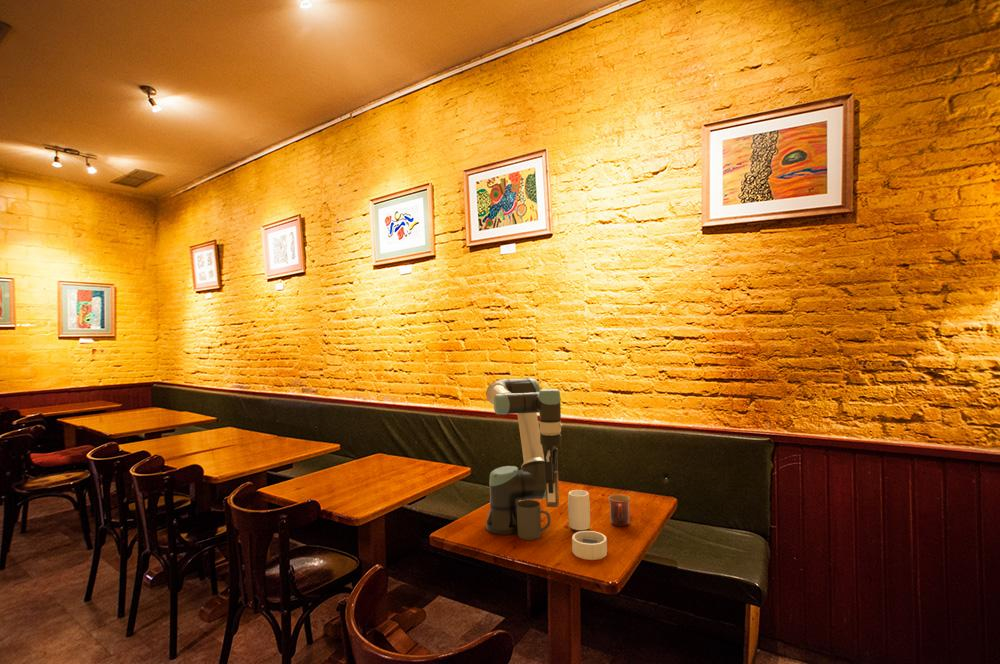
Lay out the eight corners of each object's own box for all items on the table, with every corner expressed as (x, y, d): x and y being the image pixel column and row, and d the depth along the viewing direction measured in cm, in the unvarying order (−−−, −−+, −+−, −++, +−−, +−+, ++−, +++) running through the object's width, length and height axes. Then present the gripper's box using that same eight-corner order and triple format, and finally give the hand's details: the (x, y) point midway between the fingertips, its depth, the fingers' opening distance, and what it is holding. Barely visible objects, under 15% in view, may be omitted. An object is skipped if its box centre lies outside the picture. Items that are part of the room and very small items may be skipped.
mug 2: (608, 518, 192) (607, 493, 193) (630, 519, 191) (629, 494, 191) (609, 530, 181) (608, 503, 181) (632, 531, 179) (631, 504, 179)
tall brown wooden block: (546, 506, 163) (545, 472, 163) (547, 504, 165) (546, 470, 166) (557, 507, 162) (556, 472, 162) (559, 505, 164) (558, 471, 165)
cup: (591, 526, 185) (590, 490, 186) (589, 534, 177) (588, 497, 178) (570, 524, 188) (569, 488, 188) (567, 532, 179) (566, 495, 180)
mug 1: (513, 537, 176) (512, 505, 177) (524, 528, 184) (523, 498, 185) (545, 544, 169) (544, 511, 170) (556, 535, 177) (555, 503, 178)
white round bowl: (570, 557, 159) (570, 542, 159) (575, 543, 170) (575, 529, 170) (605, 561, 155) (604, 546, 155) (607, 546, 166) (607, 532, 166)
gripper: (557, 438, 156) (559, 508, 155) (564, 429, 171) (566, 493, 170) (535, 437, 158) (537, 507, 157) (544, 428, 173) (546, 492, 172)
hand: (552, 500), depth 164 cm, fingers closed on tall brown wooden block, 2 cm apart
